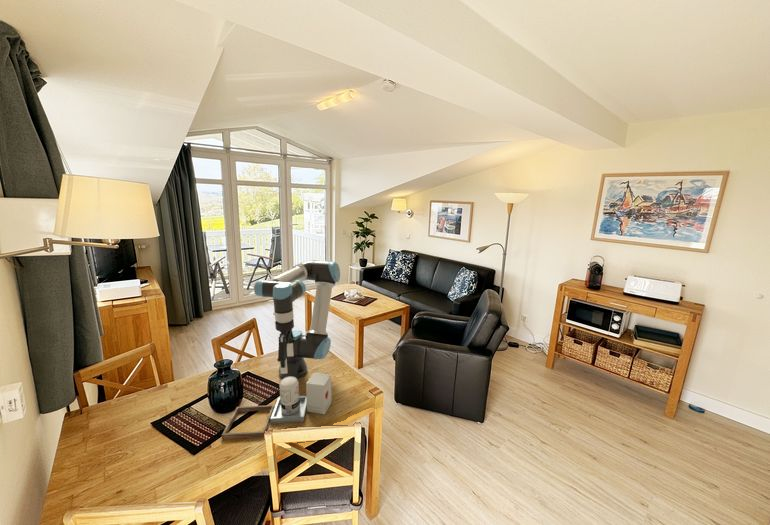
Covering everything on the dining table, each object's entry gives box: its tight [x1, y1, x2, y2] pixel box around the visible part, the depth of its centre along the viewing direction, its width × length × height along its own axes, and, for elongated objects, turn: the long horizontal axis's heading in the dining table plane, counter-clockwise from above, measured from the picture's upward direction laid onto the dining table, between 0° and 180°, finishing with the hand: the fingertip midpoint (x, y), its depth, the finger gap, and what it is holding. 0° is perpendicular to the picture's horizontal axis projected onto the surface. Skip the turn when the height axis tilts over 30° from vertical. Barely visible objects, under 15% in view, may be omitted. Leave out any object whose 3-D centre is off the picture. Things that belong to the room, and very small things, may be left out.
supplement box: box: [305, 372, 333, 415], centre depth 141 cm, size 9×9×15 cm
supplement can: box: [279, 376, 300, 415], centre depth 138 cm, size 8×8×15 cm
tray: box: [270, 395, 307, 424], centre depth 139 cm, size 14×14×2 cm
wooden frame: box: [221, 404, 275, 440], centre depth 132 cm, size 17×17×2 cm
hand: (287, 364), depth 135 cm, fingers open, 13 cm apart
